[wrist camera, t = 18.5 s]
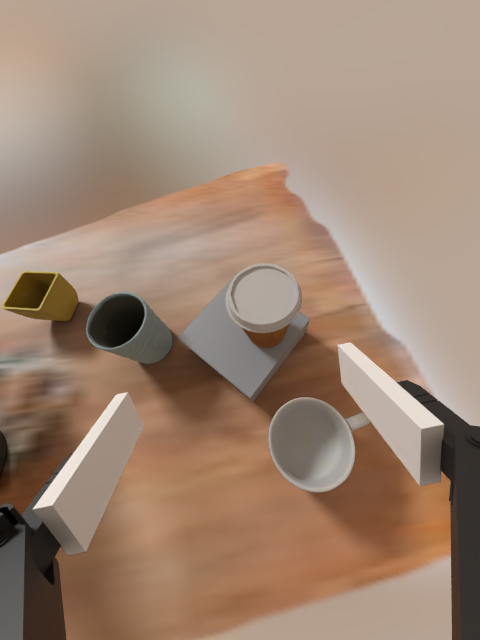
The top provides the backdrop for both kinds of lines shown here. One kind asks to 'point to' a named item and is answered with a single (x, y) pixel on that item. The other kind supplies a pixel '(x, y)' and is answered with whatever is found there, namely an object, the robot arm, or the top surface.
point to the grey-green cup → (129, 329)
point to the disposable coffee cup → (264, 302)
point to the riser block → (238, 347)
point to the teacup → (313, 443)
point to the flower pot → (42, 296)
